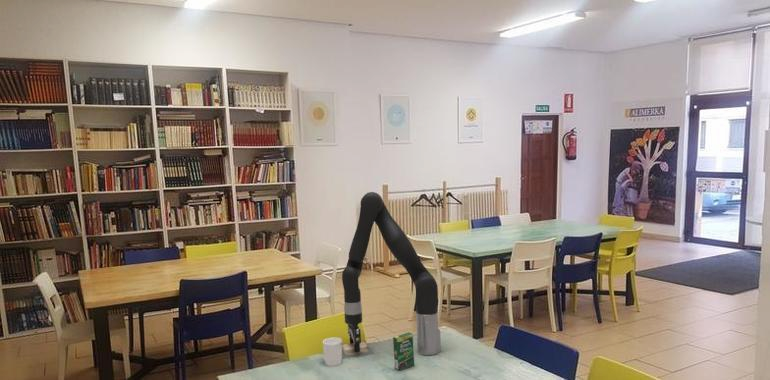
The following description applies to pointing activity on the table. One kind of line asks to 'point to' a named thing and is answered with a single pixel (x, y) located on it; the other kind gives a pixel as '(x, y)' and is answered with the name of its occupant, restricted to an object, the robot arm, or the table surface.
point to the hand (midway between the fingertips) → (354, 348)
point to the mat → (358, 354)
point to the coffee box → (403, 351)
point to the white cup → (332, 351)
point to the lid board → (349, 349)
